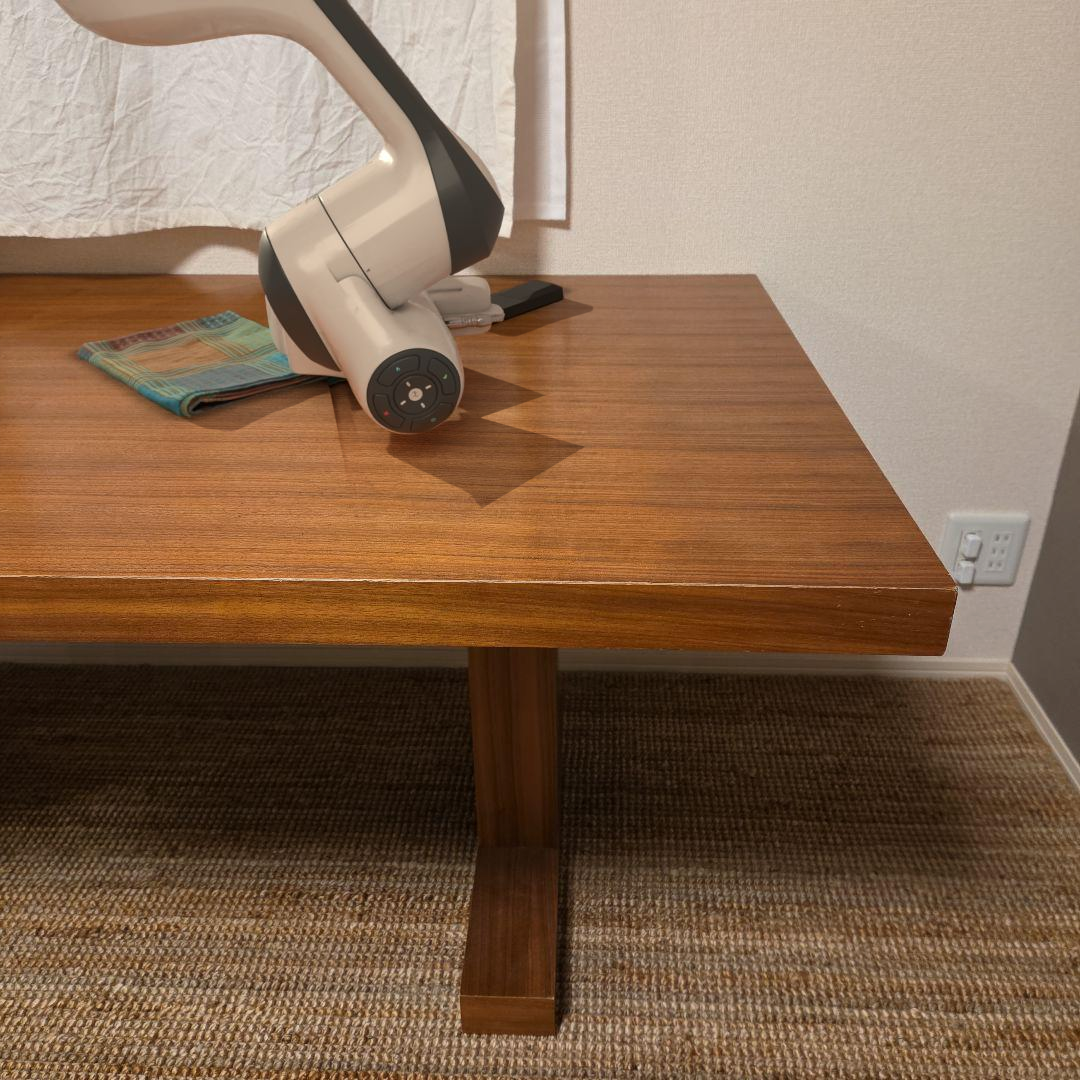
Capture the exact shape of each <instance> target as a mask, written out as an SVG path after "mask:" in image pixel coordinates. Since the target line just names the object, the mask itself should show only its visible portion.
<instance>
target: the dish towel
mask: <svg viewBox="0 0 1080 1080" xmlns="http://www.w3.org/2000/svg"><path fill="white" fill-rule="evenodd" d="M77 357H78V359H80V360H84V361H86V362H87V363H89V364H91V365H92V366H94V367H96V368H97V369H99V370H101V371H103V372H104V373H107V374H108V375H109V376H110V377H112V378H113V379H116V380H117V381H119V382H121V383H122V384H124V385H125V386H127V387H128V388H130V389H131V390H132V391H134V392H136V393H138V394H139V395H140V396H142V397H144V399H147V400H149V401H150V402H153V403H154V404H156V405H158V406H160V407H162V408H163V409H166V410H169V411H171V412H173V413H174V414H176V415H177V416H178V417H181V416H185V417H187V418H191V417H192V416H195V415H198V414H201V413H204V412H205V413H206V412H208V411H211V410H215V409H219V408H222V407H225V406H229V405H232V404H235V403H239V402H242V401H243V402H244V401H245V400H246V401H247V400H250V399H253V398H257V397H260V396H265V395H269V394H272V393H276V392H280V391H284V390H289V389H291V388H295V387H298V386H303V385H307V384H311V383H315V382H319V381H323V380H327V384H328V386H332V385H334V384H338V383H342V382H345V381H346V382H347V381H348V380H347V378H342V377H336V376H323V375H309V374H296V373H294V372H292V371H291V368H290V365H289V361H288V357H287V356H285V355H283V354H282V353H280V352H279V351H278V349H277V348H276V346H275V344H274V342H273V340H272V337H271V334H270V329H269V327H267V326H263V325H261V324H260V323H258V322H257V321H254V320H251V319H248V318H245V317H243V316H242V315H239V314H238V313H236V312H234V311H231V310H226V311H222V312H221V313H218V314H213V315H209V316H206V317H202V318H201V317H200V318H195V319H193V320H191V319H190V320H186V321H185V320H184V321H181V322H176V323H173V324H170V325H167V326H162V327H159V328H153V329H148V330H140V331H135V332H132V333H127V334H125V335H122V336H117V337H112V338H107V339H105V340H98V341H89V342H84V343H83V344H82V345H81V347H80V348H79V350H78V351H77ZM206 407H211V408H207V409H202V408H206Z"/></svg>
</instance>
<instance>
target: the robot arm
mask: <svg viewBox="0 0 1080 1080" xmlns="http://www.w3.org/2000/svg"><path fill="white" fill-rule="evenodd" d="M53 1H54V2H55V3H56V4H57V5H58V6H59V7H60V8H61V9H62V11H63V12H64V13H65V14H66V15H67V16H68V17H69V18H70V19H71V20H72V21H73V22H75V23H76V24H77V25H79V26H81V27H83V28H84V29H85V30H87V31H89V32H91V33H93V34H95V35H96V36H100V37H101V38H104V39H106V40H110V41H113V42H116V43H120V44H126V45H130V46H140V47H172V46H181V45H188V44H194V43H199V42H205V41H211V40H218V39H223V38H231V37H240V36H247V35H248V36H250V35H263V36H266V35H267V36H274V37H279V38H282V39H287V40H289V41H291V42H294V43H296V44H297V45H300V46H302V48H304V49H306V50H307V51H308V52H309V53H311V55H312V56H313V57H314V58H316V59H317V61H318V62H319V63H320V64H321V65H322V67H323V68H324V69H325V70H326V71H327V73H328V74H329V75H330V77H332V79H333V80H334V81H335V82H336V83H337V85H338V86H339V87H340V88H341V89H342V90H343V92H344V93H345V94H346V95H347V97H349V99H350V100H351V101H352V102H353V103H354V105H355V106H356V107H357V109H358V110H359V111H360V112H361V113H362V114H363V116H364V117H365V118H366V119H367V120H368V121H369V122H370V124H371V125H372V126H373V127H374V128H375V130H376V131H377V132H378V133H379V134H380V136H381V138H382V141H383V147H382V148H381V150H380V152H379V153H378V154H377V155H376V156H375V157H374V158H372V159H371V160H370V161H368V162H366V163H365V164H363V165H362V166H360V167H358V168H357V169H355V170H354V171H353V172H351V173H349V174H347V175H346V176H345V177H343V178H341V179H340V180H338V181H337V182H335V183H334V184H332V185H330V186H329V187H327V188H325V189H324V190H322V191H321V192H319V193H316V194H314V195H312V196H310V197H309V198H308V199H306V200H305V201H303V202H301V203H300V204H298V205H297V206H296V207H294V208H292V209H291V210H289V211H288V212H286V213H284V214H283V215H282V216H279V218H277V219H276V220H274V221H272V223H270V224H268V225H267V226H265V227H264V228H263V230H262V233H261V235H260V239H259V245H258V251H257V252H258V253H257V254H258V255H257V260H258V261H257V272H258V277H259V281H260V284H261V287H262V290H263V292H264V298H265V307H266V316H267V323H268V328H269V329H270V334H271V337H272V340H273V342H274V344H275V346H276V348H277V349H278V351H279V352H280V353H282V354H283V355H285V356H287V357H288V361H289V365H290V368H291V371H292V372H294V373H296V374H309V375H323V376H336V377H342V378H347V380H346V381H347V382H348V384H349V386H350V388H351V391H352V393H353V395H354V396H355V399H356V401H357V402H358V404H359V405H360V407H361V408H362V409H363V411H364V413H365V414H366V415H367V417H368V418H370V419H371V420H372V421H373V423H375V425H377V426H379V427H380V428H382V429H383V430H386V431H388V432H391V433H393V434H399V435H417V434H418V435H419V434H423V433H426V432H428V431H431V430H434V429H435V428H437V427H440V426H441V424H443V423H445V421H447V420H448V419H449V418H450V417H451V416H452V415H453V414H454V412H455V411H456V410H457V408H458V406H459V404H460V403H461V400H462V397H463V394H464V390H465V370H464V365H463V364H464V363H463V360H462V356H461V352H460V350H459V347H458V345H457V342H456V340H455V338H458V337H468V336H469V337H470V336H476V335H481V334H486V333H487V332H489V331H490V329H491V327H492V325H493V324H492V322H496V323H498V322H499V323H500V322H503V321H504V320H505V319H504V316H505V314H504V312H503V310H502V308H501V307H500V306H499V305H496V304H491V288H490V285H489V283H488V281H487V279H485V278H484V277H479V276H459V277H452V276H454V275H456V274H458V273H460V272H462V271H464V270H466V269H468V268H470V267H472V266H474V265H475V264H478V263H480V262H481V261H484V260H485V259H487V258H489V257H490V256H491V254H492V252H493V250H494V248H495V246H496V243H497V240H498V237H499V235H500V231H501V229H502V225H503V221H504V216H505V212H506V211H505V210H506V207H505V205H504V204H503V199H502V195H501V192H500V189H499V187H498V184H497V182H496V180H495V179H494V177H493V175H492V173H491V171H490V170H489V168H488V167H487V165H486V164H485V163H484V161H483V159H482V158H481V157H480V156H479V155H478V153H477V152H475V150H474V149H473V148H472V147H471V146H470V145H469V143H467V142H466V141H465V140H464V139H462V138H461V137H460V136H459V135H458V134H457V133H456V132H455V131H454V130H453V129H452V128H450V127H449V126H448V125H447V124H446V123H445V122H444V121H443V120H441V118H440V117H439V116H438V114H437V113H436V112H435V111H434V110H433V109H432V106H430V104H429V103H428V102H427V100H425V98H424V97H423V95H422V94H421V91H420V90H418V88H417V87H416V86H415V84H414V83H413V82H412V80H411V79H410V77H409V76H408V75H407V74H406V72H405V71H404V70H403V69H402V68H401V66H400V65H399V64H398V62H396V60H395V59H394V58H393V56H392V55H391V54H390V52H389V51H388V50H387V48H386V47H385V46H384V45H383V44H382V42H381V41H380V40H379V38H377V37H376V35H375V33H374V31H372V29H371V28H370V27H369V26H368V24H367V23H366V22H365V21H364V20H363V18H362V17H361V15H360V14H359V13H358V11H356V10H355V8H354V6H352V5H351V3H350V2H349V0H53ZM448 276H450V277H448ZM503 319H504V320H503Z"/></svg>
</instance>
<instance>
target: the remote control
mask: <svg viewBox="0 0 1080 1080" xmlns="http://www.w3.org/2000/svg"><path fill="white" fill-rule="evenodd" d="M490 295H491V304H496V305H499V306H500V307H501V308H502V310H503V312H504V314H505V316H504V319H503V321H504V320H507V319H510V318H512V317H516V316H519V315H521V314H523V313H526V312H529V311H532V310H534V309H537V308H541V307H543V306H546V305H548V304H551V303H554V302H557V301H559V300H563V299H565V298H564V289H563V286H562V285H559V284H555V283H552V282H549V281H544V280H539V279H533V280H529V281H526V282H524V283H521V284H518V285H516V286H512V287H510V288H506V289H503V290H500V291H497V292H495V293H490ZM495 323H497V322H492V324H491V325H493V324H495Z"/></svg>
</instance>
